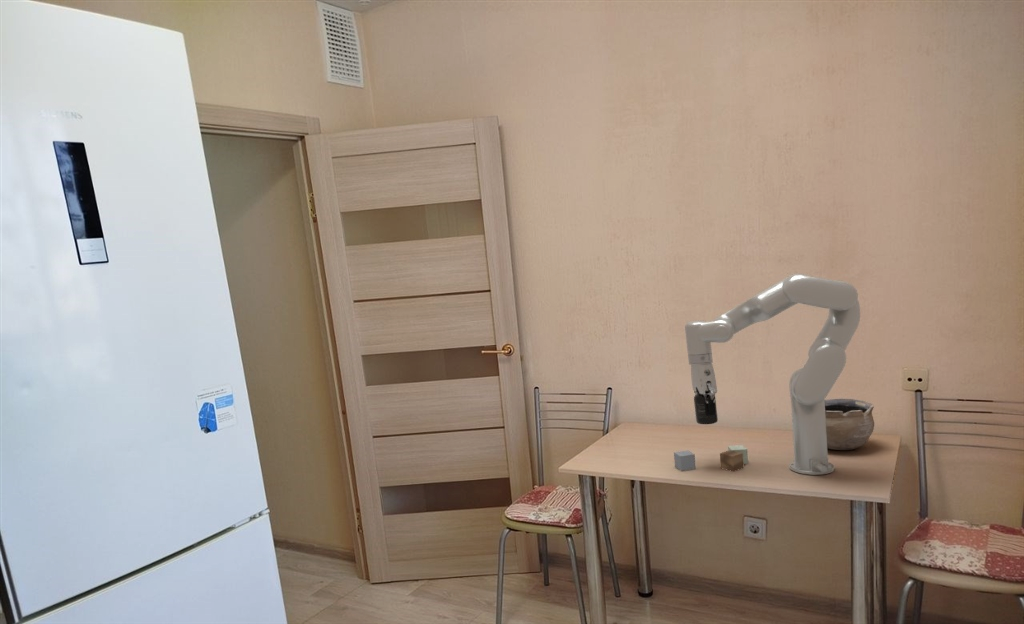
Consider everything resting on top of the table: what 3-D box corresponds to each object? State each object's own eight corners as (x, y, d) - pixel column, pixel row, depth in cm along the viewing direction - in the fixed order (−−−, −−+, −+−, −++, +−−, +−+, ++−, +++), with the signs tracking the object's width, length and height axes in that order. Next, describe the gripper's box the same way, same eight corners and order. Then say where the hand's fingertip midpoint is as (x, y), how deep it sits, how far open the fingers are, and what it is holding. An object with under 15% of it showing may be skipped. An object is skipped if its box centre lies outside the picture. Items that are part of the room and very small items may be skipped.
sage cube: (748, 464, 210) (747, 449, 210) (732, 465, 211) (731, 450, 210) (743, 459, 215) (743, 445, 215) (728, 460, 216) (727, 446, 215)
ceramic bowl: (835, 460, 206) (833, 414, 205) (790, 444, 227) (787, 402, 226) (891, 449, 212) (889, 405, 211) (841, 435, 233) (839, 394, 232)
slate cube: (695, 469, 210) (694, 454, 209) (681, 471, 209) (680, 456, 209) (689, 464, 215) (687, 450, 214) (674, 467, 214) (673, 452, 213)
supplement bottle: (722, 421, 207) (718, 385, 207) (705, 426, 205) (701, 389, 204) (708, 418, 214) (704, 383, 213) (692, 422, 211) (688, 386, 211)
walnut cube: (743, 468, 207) (742, 452, 206) (733, 471, 204) (732, 456, 204) (731, 464, 211) (730, 449, 211) (720, 468, 208) (719, 453, 208)
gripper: (722, 360, 200) (728, 416, 201) (701, 354, 217) (706, 406, 218) (699, 363, 199) (705, 419, 200) (679, 357, 217) (685, 409, 218)
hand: (706, 412), depth 209 cm, fingers closed on supplement bottle, 6 cm apart
